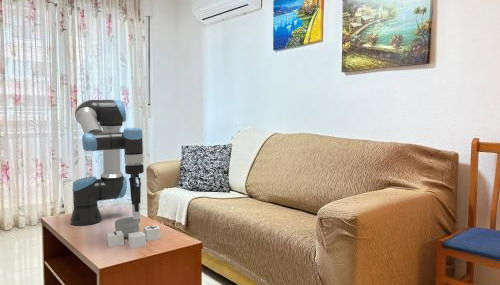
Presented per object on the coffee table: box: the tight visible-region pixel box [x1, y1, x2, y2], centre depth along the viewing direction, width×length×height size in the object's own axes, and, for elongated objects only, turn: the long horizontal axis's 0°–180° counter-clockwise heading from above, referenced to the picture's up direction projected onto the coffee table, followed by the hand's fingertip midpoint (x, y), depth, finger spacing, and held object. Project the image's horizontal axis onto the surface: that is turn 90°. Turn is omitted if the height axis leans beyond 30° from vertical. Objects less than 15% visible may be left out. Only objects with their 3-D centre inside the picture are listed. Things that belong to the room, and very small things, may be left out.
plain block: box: [128, 231, 147, 250], centre depth 160 cm, size 6×6×5 cm
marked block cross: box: [143, 224, 162, 242], centre depth 169 cm, size 6×6×5 cm
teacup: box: [114, 216, 141, 239], centre depth 174 cm, size 14×11×8 cm
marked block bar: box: [106, 230, 125, 248], centre depth 162 cm, size 6×6×5 cm
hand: (136, 218), depth 159 cm, fingers closed
